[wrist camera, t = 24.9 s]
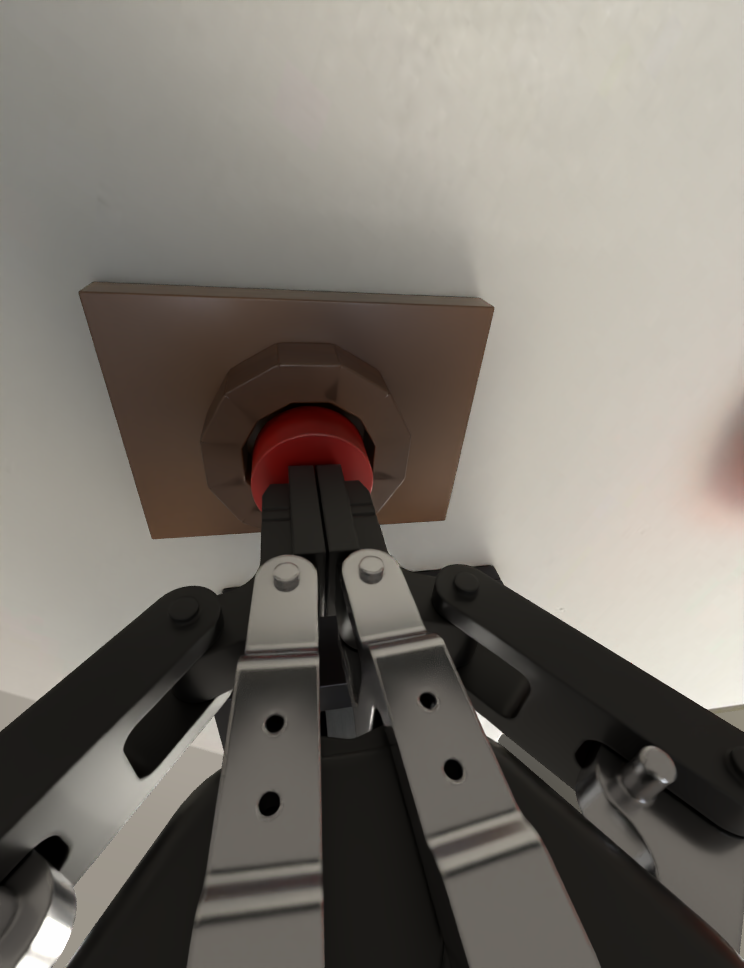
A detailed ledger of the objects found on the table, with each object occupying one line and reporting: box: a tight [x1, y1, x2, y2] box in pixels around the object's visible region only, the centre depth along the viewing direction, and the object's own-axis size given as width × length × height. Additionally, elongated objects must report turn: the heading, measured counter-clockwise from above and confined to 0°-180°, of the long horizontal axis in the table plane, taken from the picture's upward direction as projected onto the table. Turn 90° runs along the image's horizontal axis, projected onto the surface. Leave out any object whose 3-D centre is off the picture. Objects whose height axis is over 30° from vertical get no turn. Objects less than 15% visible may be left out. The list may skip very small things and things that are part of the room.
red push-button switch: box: [79, 282, 494, 539], centre depth 15 cm, size 12×9×3 cm
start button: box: [251, 406, 373, 512], centre depth 13 cm, size 4×4×2 cm
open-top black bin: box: [214, 566, 504, 749], centre depth 23 cm, size 14×12×6 cm
